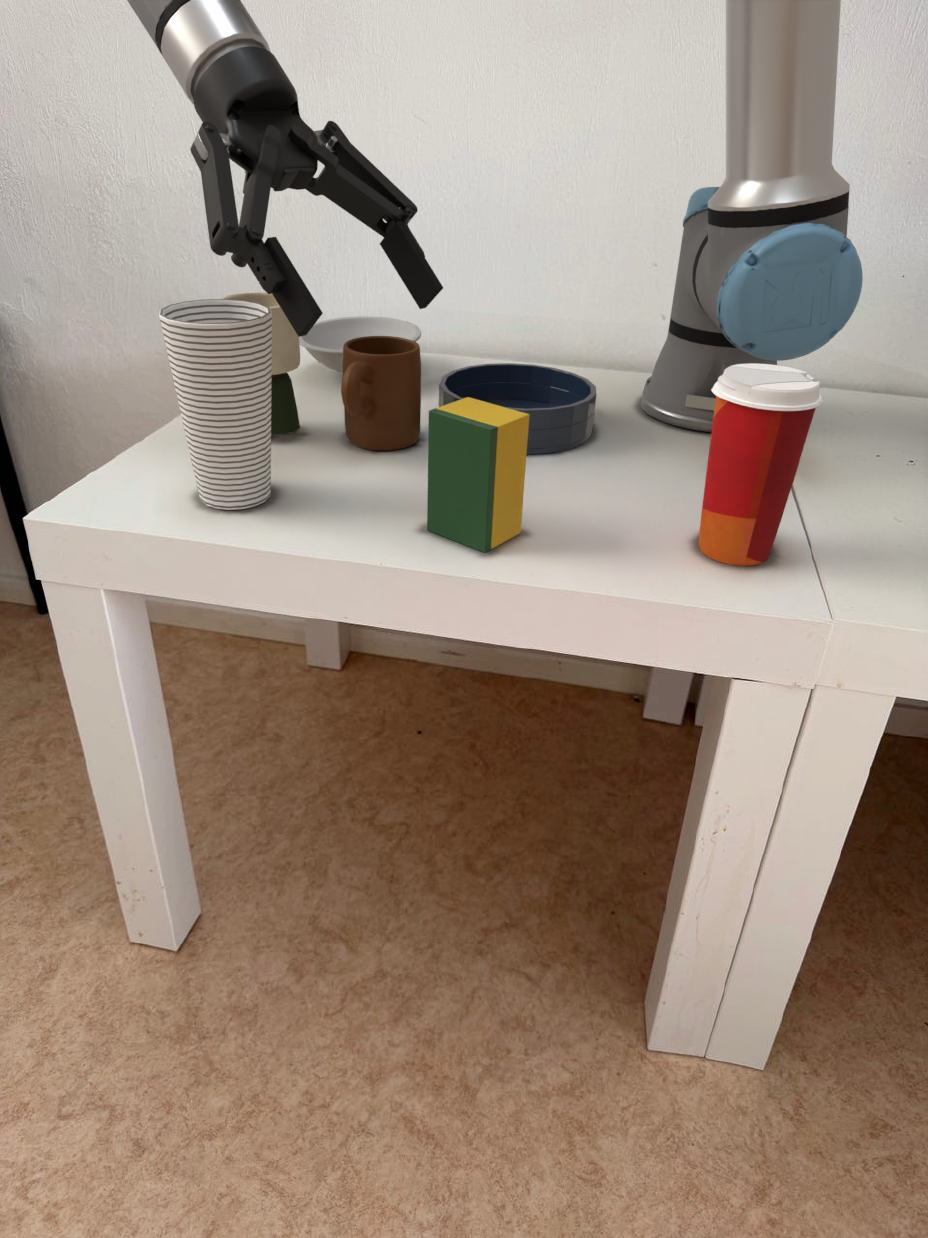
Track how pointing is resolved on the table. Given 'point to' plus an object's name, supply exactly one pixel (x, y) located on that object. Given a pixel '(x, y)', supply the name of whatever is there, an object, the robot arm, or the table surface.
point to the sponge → (476, 472)
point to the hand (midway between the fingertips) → (375, 311)
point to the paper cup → (753, 458)
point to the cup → (224, 395)
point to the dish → (351, 335)
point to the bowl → (530, 400)
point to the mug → (381, 392)
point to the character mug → (280, 364)
